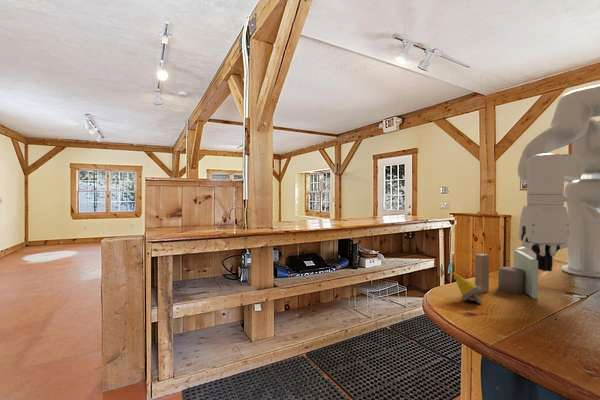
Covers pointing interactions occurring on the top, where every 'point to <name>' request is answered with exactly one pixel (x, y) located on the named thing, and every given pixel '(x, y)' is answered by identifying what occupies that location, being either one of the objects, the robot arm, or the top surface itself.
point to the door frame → (483, 268)
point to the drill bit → (467, 288)
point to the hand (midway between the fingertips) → (544, 269)
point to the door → (527, 272)
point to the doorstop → (511, 280)
